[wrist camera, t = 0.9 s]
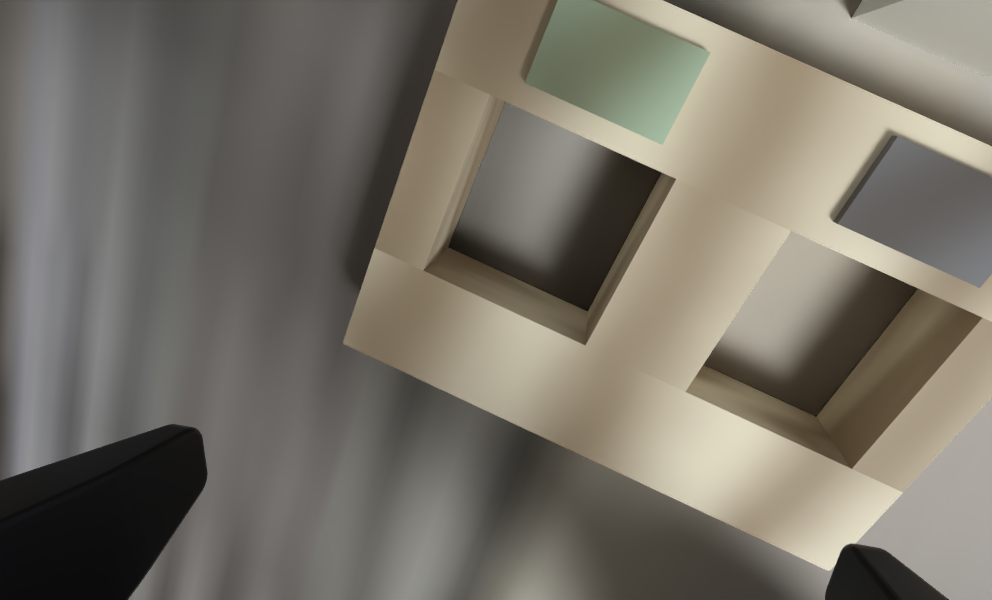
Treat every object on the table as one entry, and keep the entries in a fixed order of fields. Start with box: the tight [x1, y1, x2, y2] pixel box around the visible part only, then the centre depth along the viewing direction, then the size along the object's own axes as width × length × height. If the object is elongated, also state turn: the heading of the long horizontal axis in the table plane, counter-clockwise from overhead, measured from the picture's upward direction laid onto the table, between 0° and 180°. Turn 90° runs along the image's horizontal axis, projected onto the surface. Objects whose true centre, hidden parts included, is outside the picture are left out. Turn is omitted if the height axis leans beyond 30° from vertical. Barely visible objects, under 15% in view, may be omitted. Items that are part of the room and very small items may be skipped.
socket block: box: [343, 0, 992, 571], centre depth 17 cm, size 18×13×3 cm
